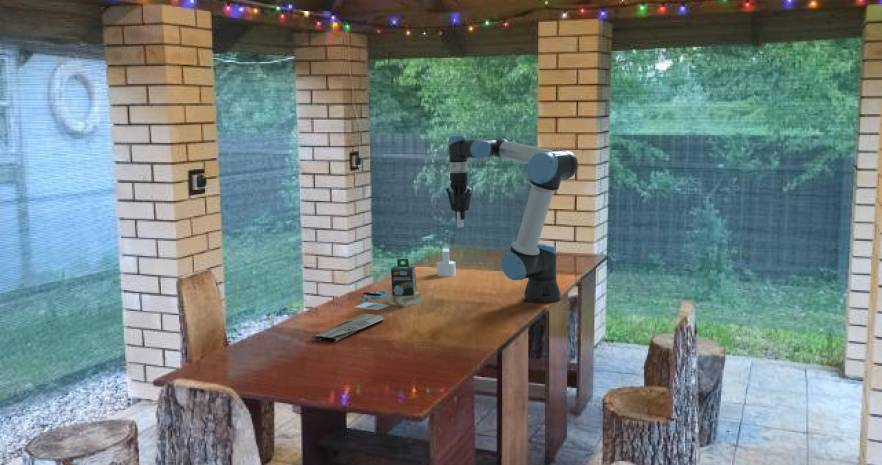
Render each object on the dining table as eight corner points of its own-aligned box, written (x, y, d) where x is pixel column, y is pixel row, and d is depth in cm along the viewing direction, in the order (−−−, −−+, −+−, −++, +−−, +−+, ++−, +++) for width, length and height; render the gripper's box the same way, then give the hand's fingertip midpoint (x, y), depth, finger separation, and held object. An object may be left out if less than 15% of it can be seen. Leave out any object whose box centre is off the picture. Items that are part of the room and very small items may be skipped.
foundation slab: (421, 302, 352) (421, 292, 352) (405, 306, 345) (404, 297, 344) (403, 299, 359) (403, 290, 358) (387, 303, 351) (387, 294, 351)
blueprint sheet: (390, 305, 348) (390, 304, 348) (378, 310, 340) (378, 309, 340) (366, 302, 354) (366, 302, 354) (353, 307, 346) (353, 306, 346)
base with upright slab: (455, 276, 405) (455, 251, 403) (436, 276, 405) (436, 252, 403) (455, 272, 414) (455, 248, 412) (437, 273, 414) (436, 248, 412)
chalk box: (416, 291, 355) (415, 256, 353) (413, 296, 346) (412, 260, 344) (395, 291, 356) (393, 256, 354) (391, 296, 347) (390, 260, 345)
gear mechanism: (351, 301, 360) (369, 303, 355) (350, 288, 359) (369, 290, 354) (377, 292, 377) (395, 293, 372) (377, 280, 376) (394, 281, 372)
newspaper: (360, 319, 329) (359, 310, 328) (388, 321, 324) (388, 312, 323) (309, 342, 297) (308, 332, 297) (339, 346, 292) (339, 336, 291)
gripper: (441, 172, 361) (443, 227, 364) (465, 172, 353) (467, 228, 356) (451, 171, 366) (453, 225, 370) (476, 171, 358) (478, 226, 362)
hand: (460, 227), depth 363 cm, fingers closed
